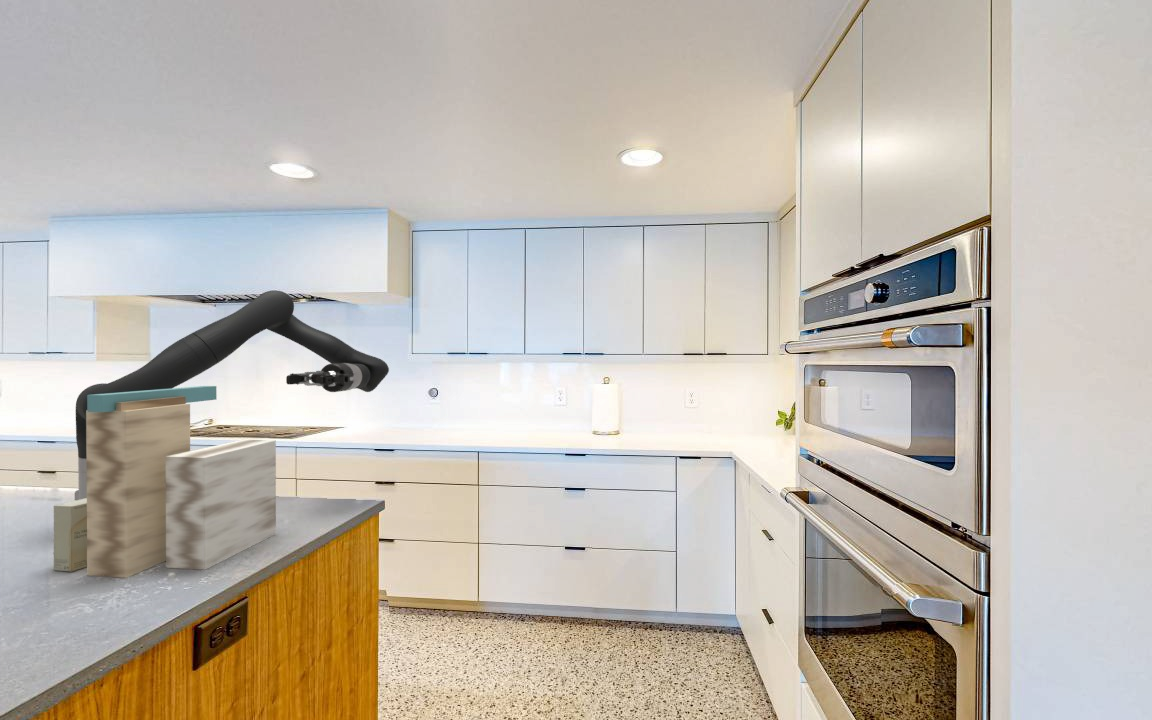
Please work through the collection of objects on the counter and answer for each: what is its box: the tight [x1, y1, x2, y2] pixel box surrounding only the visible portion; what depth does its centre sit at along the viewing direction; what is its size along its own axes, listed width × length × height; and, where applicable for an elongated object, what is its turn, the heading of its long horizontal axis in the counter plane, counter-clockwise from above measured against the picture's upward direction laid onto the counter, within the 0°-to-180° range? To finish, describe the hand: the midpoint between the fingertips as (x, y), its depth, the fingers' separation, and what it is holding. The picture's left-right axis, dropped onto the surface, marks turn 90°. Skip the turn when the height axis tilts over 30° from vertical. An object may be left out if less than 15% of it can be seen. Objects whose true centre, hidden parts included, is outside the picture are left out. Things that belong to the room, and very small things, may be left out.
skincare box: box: [53, 498, 87, 572], centre depth 103 cm, size 6×4×12 cm
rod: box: [87, 385, 217, 412], centre depth 108 cm, size 3×26×3 cm, turn 174°
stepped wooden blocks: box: [86, 396, 277, 579], centre depth 110 cm, size 19×25×32 cm
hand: (304, 380), depth 130 cm, fingers open, 8 cm apart
